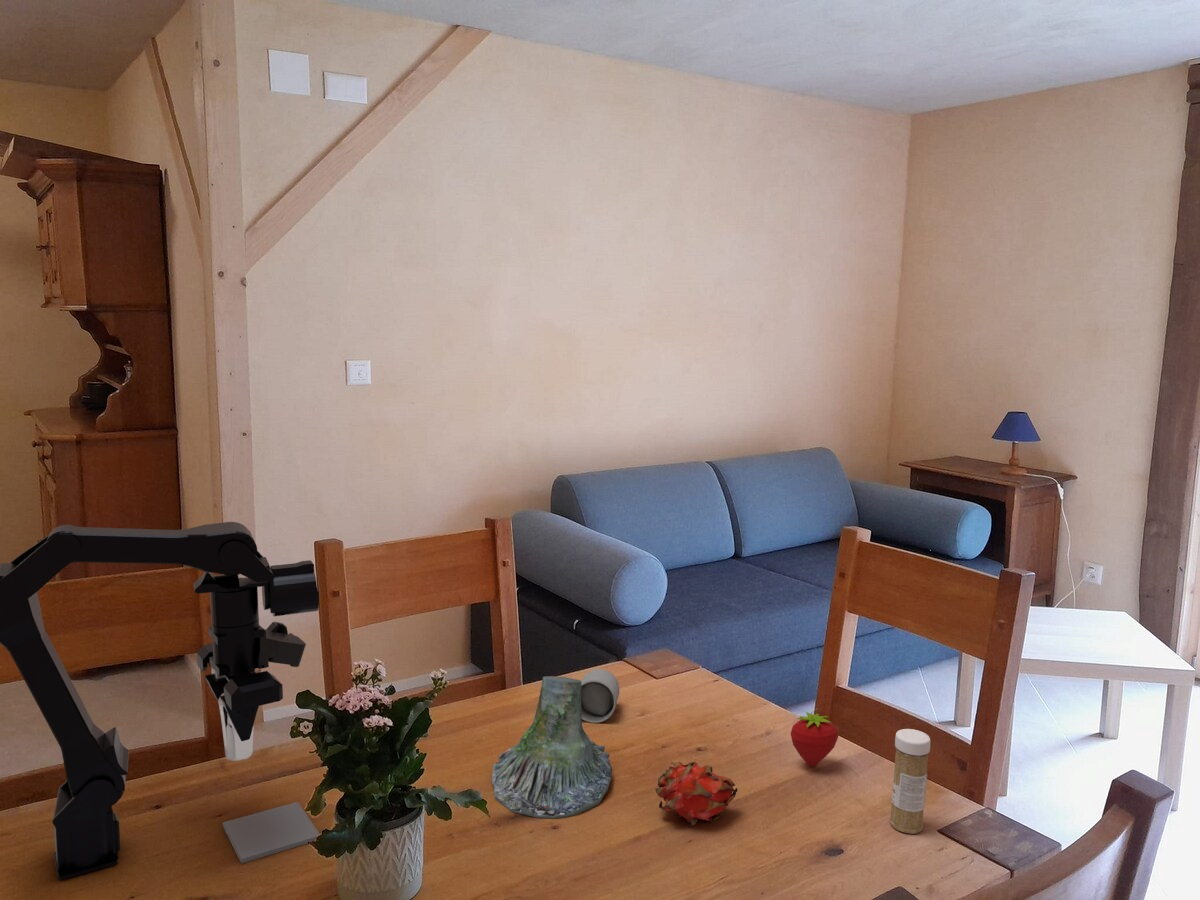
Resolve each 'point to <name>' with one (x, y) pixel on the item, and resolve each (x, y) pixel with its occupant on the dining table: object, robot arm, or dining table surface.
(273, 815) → the coaster
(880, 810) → the dining table surface
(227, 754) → the milkshake
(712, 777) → the dragon fruit
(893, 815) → the spice jar
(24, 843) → the dining table surface
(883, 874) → the dining table surface
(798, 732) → the strawberry
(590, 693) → the ceramic mug
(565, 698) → the tree stump
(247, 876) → the dining table surface
